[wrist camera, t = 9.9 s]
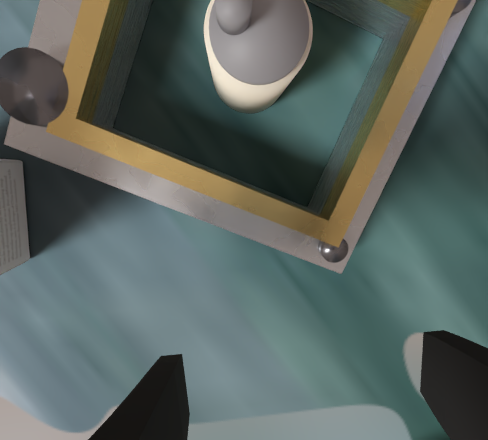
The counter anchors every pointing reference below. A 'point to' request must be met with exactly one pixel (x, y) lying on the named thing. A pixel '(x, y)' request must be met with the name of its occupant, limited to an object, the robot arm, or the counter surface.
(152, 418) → the robot arm
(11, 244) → the skincare box
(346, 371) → the counter surface
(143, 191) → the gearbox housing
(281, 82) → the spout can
